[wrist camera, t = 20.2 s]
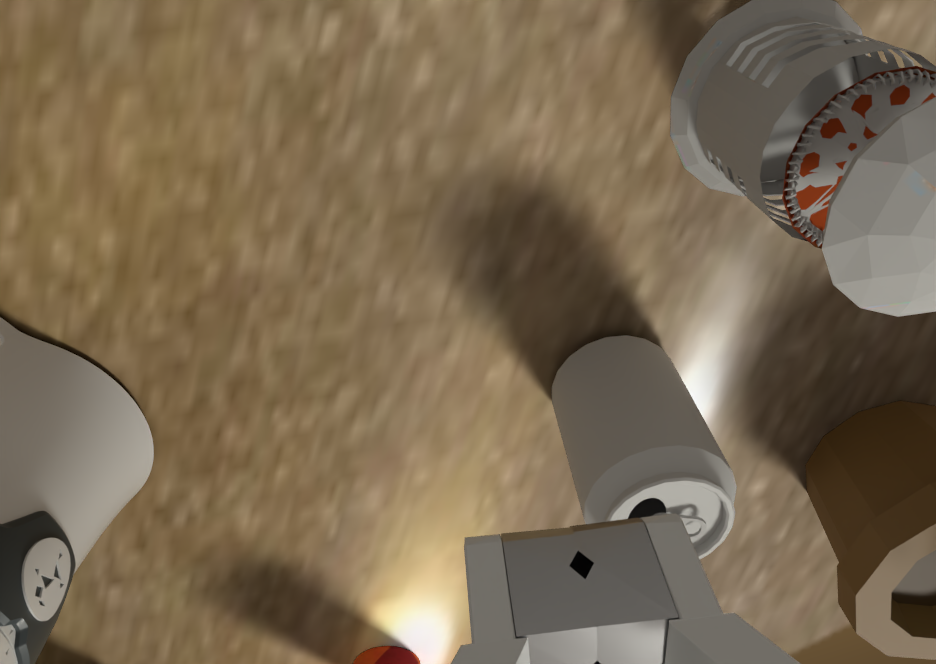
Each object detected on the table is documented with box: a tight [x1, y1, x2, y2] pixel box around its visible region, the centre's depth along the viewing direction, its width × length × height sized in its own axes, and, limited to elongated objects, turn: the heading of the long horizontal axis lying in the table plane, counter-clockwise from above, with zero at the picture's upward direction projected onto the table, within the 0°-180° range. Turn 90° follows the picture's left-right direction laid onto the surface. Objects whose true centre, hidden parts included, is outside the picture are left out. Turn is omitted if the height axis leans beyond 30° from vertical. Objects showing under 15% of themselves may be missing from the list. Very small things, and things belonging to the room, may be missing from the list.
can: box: [552, 335, 737, 559], centre depth 38 cm, size 8×8×12 cm
